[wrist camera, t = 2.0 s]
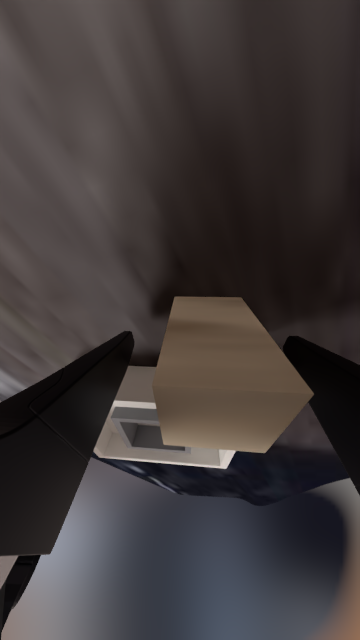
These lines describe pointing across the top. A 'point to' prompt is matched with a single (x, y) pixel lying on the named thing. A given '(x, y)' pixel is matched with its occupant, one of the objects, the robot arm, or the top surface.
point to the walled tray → (147, 428)
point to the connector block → (223, 378)
